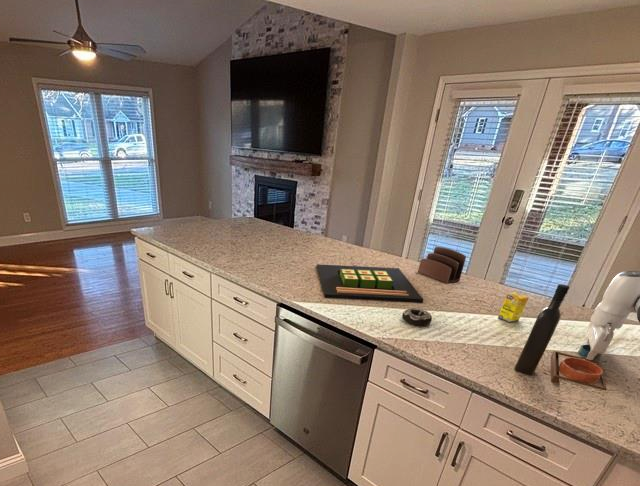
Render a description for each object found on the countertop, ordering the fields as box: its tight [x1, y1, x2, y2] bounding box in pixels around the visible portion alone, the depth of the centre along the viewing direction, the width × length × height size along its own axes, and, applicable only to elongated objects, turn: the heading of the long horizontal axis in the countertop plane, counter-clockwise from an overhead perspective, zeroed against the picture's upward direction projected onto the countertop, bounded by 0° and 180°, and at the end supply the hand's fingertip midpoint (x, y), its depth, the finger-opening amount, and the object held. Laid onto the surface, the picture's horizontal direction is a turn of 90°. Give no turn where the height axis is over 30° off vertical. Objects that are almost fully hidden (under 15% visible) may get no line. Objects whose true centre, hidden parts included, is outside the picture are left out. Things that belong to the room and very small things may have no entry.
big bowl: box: [557, 356, 604, 384], centre depth 136 cm, size 11×11×5 cm
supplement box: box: [497, 291, 530, 324], centre depth 174 cm, size 6×6×11 cm
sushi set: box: [316, 263, 424, 304], centre depth 207 cm, size 45×45×4 cm
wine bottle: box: [514, 283, 570, 376], centre depth 133 cm, size 6×6×30 cm
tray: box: [550, 350, 607, 391], centre depth 139 cm, size 14×20×2 cm
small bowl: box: [577, 344, 603, 361], centre depth 148 cm, size 7×7×4 cm
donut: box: [401, 307, 433, 327], centre depth 171 cm, size 12×12×4 cm
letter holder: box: [417, 246, 467, 284], centre depth 218 cm, size 10×20×14 cm, turn 30°
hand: (587, 354), depth 148 cm, fingers open, 7 cm apart
